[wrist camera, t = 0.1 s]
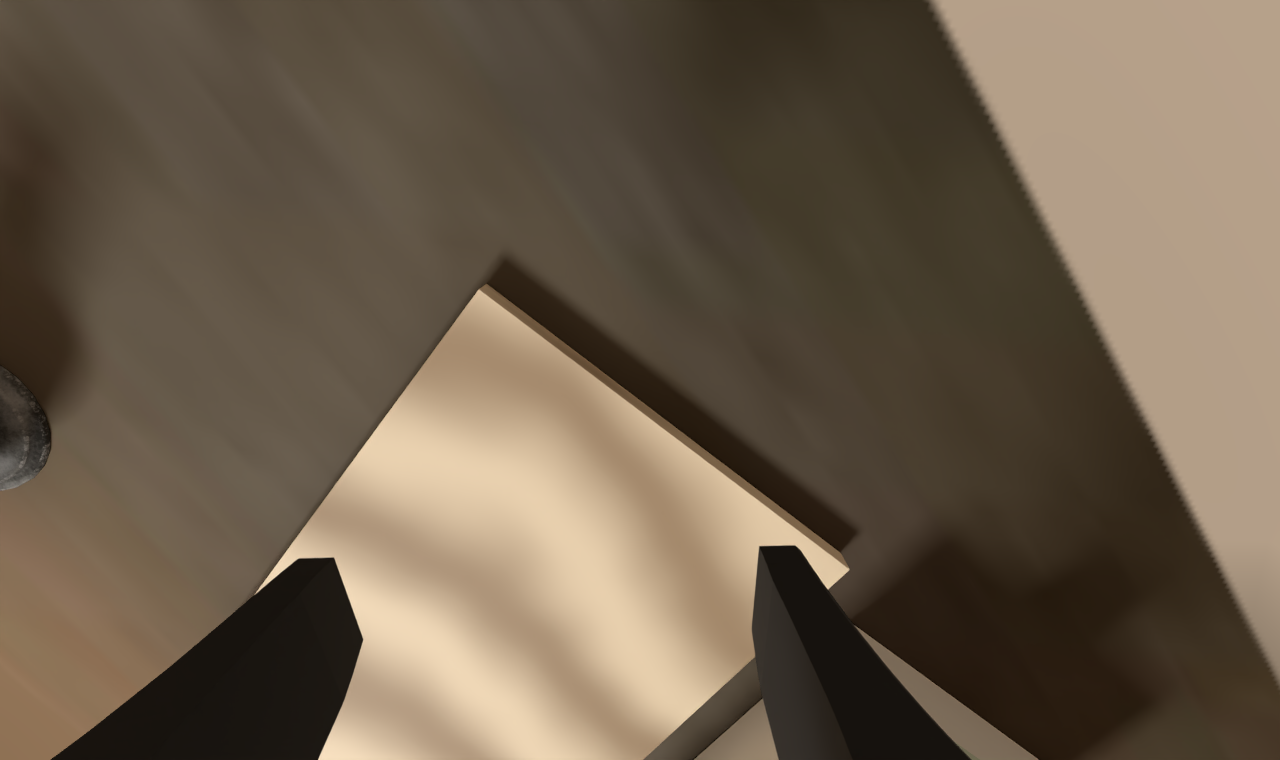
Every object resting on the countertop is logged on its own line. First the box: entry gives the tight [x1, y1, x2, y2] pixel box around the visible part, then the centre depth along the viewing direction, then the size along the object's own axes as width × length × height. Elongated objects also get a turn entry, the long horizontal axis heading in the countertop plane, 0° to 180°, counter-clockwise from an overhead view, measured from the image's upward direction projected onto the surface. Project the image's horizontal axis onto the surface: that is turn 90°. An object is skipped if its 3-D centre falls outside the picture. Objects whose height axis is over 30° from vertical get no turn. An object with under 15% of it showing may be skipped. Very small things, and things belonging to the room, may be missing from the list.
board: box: [255, 284, 850, 760], centre depth 23 cm, size 20×16×1 cm
